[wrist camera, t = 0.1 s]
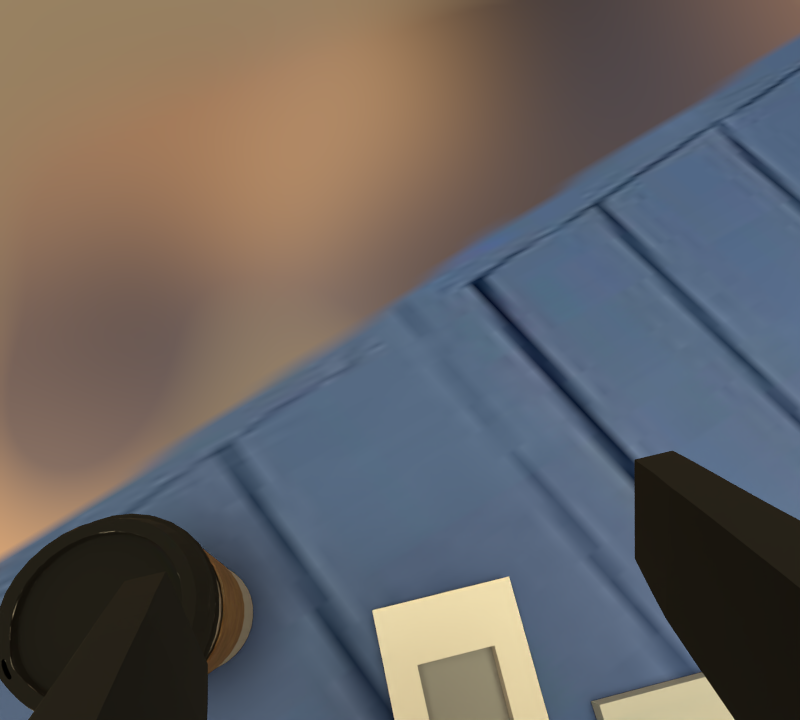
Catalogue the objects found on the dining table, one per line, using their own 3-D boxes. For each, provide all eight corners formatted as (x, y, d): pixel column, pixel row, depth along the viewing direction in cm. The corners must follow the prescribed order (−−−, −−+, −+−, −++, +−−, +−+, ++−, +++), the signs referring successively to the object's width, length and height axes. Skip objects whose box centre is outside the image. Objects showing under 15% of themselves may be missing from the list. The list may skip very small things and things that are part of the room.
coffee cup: (110, 595, 40) (-47, 581, 27) (233, 517, 42) (146, 465, 28) (171, 727, 38) (32, 787, 24) (300, 638, 39) (240, 647, 25)
